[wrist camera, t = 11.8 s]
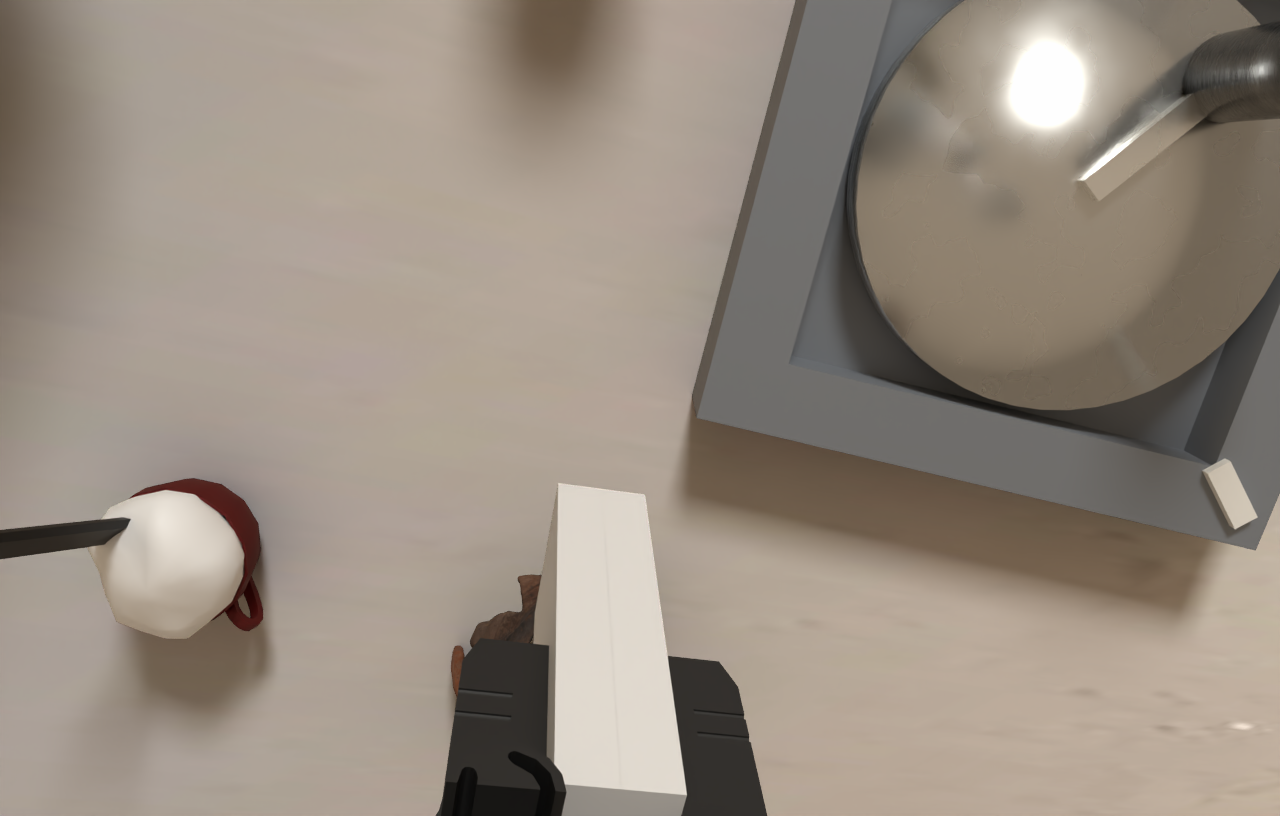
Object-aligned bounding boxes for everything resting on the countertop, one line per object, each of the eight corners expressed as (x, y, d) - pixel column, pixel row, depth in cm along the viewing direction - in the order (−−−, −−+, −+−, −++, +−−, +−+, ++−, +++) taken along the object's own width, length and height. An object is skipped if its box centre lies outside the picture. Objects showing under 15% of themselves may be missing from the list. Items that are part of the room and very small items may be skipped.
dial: (1008, 477, 43) (1161, 610, 30) (760, 167, 40) (815, 170, 27) (1354, 216, 40) (1681, 243, 27) (1117, -138, 37) (1364, -293, 24)
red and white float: (304, 589, 47) (209, 741, 35) (177, 623, 47) (41, 786, 35) (229, 401, 44) (99, 499, 32) (94, 439, 44) (-82, 549, 33)
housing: (692, 395, 44) (697, 420, 40) (847, -196, 38) (872, -239, 34) (1204, 517, 45) (1261, 554, 41) (1427, -37, 39) (1520, -60, 35)
